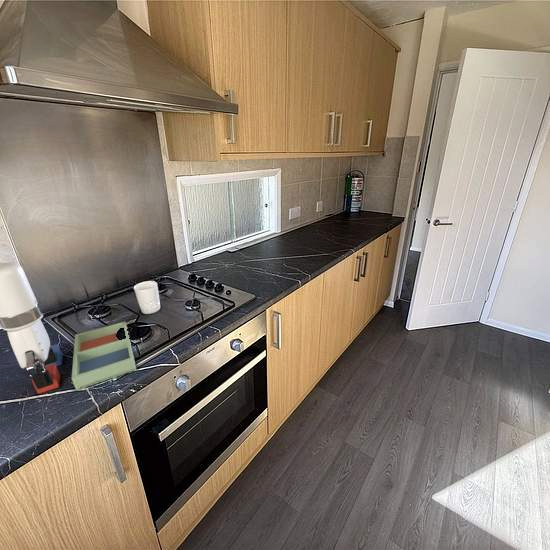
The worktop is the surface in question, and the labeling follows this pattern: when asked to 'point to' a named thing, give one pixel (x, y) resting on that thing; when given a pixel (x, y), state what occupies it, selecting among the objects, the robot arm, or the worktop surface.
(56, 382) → the red block
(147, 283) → the white cup
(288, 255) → the worktop surface
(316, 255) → the worktop surface
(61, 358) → the blue block
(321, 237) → the worktop surface
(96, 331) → the tray
